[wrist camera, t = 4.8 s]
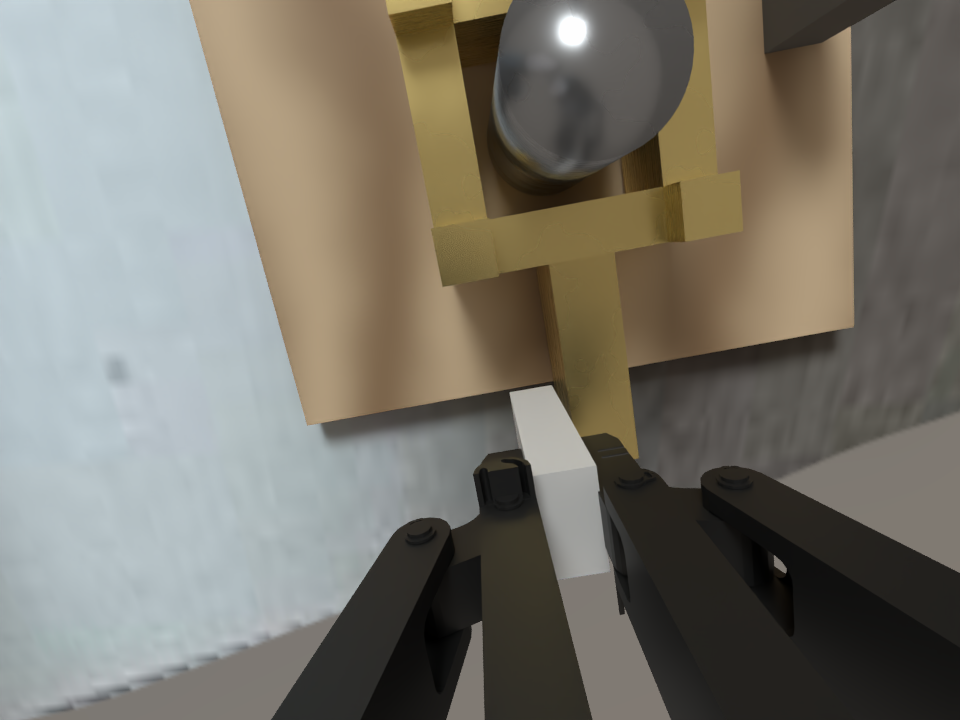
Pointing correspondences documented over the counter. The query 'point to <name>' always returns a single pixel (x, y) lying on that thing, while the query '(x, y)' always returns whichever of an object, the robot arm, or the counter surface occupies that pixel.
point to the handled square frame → (564, 229)
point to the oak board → (509, 209)
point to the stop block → (811, 20)
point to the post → (583, 86)
